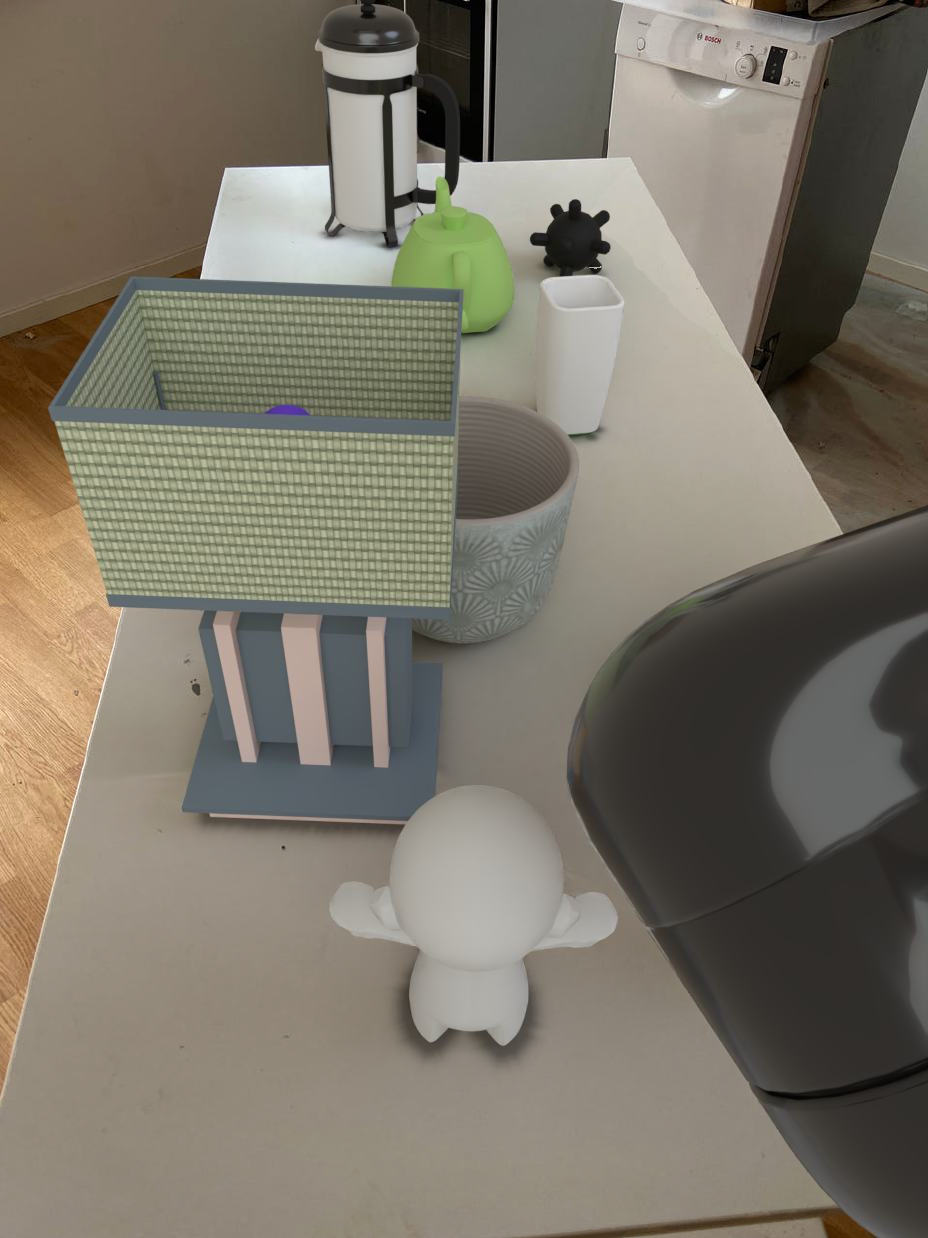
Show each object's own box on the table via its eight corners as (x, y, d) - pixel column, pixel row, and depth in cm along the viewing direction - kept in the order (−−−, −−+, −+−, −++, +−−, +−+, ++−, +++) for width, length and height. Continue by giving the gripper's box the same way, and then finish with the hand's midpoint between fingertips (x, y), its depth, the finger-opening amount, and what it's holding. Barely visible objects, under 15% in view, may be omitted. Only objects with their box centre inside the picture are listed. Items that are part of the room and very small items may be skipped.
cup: (542, 445, 101) (555, 311, 91) (525, 408, 106) (536, 277, 96) (609, 439, 102) (629, 306, 92) (589, 403, 107) (606, 272, 97)
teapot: (385, 275, 129) (381, 173, 120) (496, 272, 131) (501, 170, 122) (398, 357, 113) (396, 246, 104) (525, 352, 115) (533, 242, 106)
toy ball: (634, 243, 131) (624, 254, 121) (572, 292, 136) (556, 307, 126) (588, 176, 129) (573, 181, 119) (527, 228, 134) (507, 238, 124)
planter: (385, 692, 76) (378, 540, 65) (345, 556, 87) (334, 408, 77) (589, 654, 79) (614, 504, 69) (524, 528, 91) (537, 383, 80)
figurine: (595, 956, 60) (645, 754, 46) (605, 1097, 54) (665, 912, 40) (344, 944, 60) (318, 739, 46) (325, 1083, 54) (290, 895, 40)
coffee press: (339, 258, 133) (323, 3, 112) (313, 213, 143) (294, -26, 123) (459, 244, 137) (465, -4, 116) (425, 202, 148) (425, -32, 127)
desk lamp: (452, 685, 76) (463, 286, 54) (444, 839, 66) (454, 427, 43) (219, 676, 76) (132, 274, 54) (176, 829, 66) (45, 411, 43)
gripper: (1087, 741, 29) (957, 722, 45) (619, 605, 33) (655, 633, 49) (1012, 982, 29) (909, 877, 45) (554, 818, 33) (611, 776, 49)
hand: (777, 750), depth 47 cm, fingers closed on beverage can, 6 cm apart
